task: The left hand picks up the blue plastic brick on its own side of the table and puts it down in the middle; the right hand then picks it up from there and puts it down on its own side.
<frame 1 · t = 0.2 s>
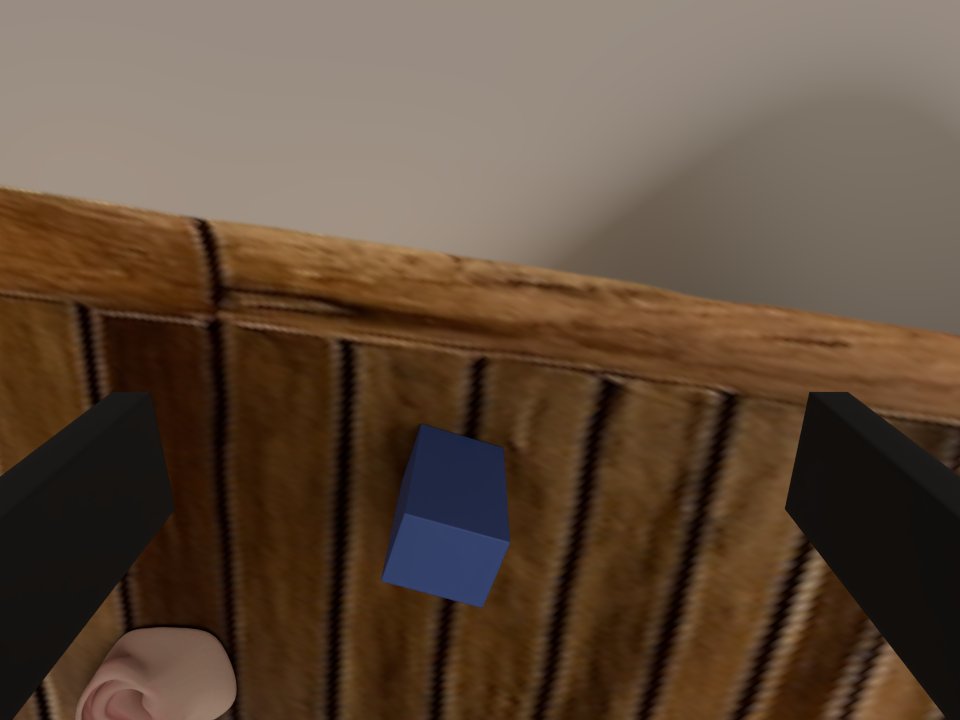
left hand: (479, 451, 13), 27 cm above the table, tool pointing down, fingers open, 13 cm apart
anatomical model: (165, 680, 52), on the table
brick: (452, 464, 44), on the table
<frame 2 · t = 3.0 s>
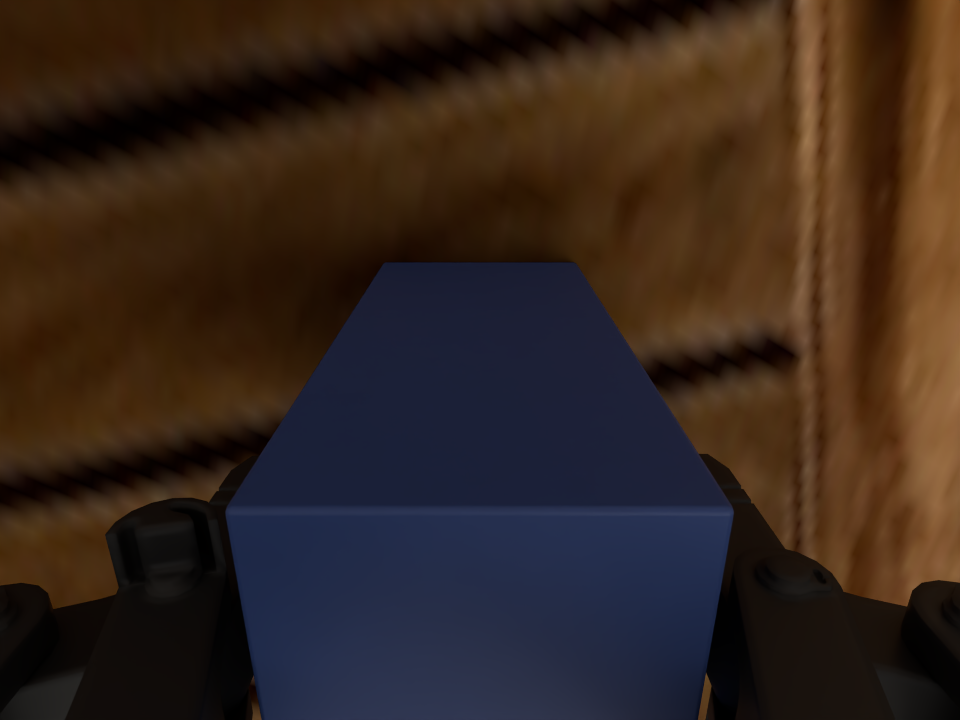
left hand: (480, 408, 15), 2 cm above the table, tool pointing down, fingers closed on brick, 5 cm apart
brick: (479, 373, 17), on the table, touching left hand
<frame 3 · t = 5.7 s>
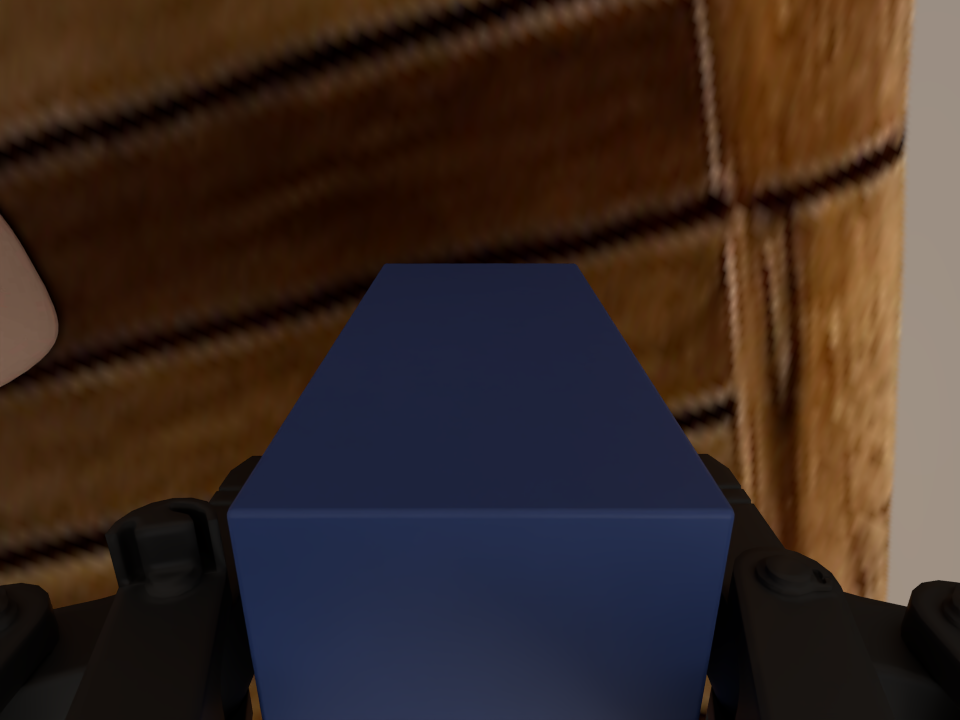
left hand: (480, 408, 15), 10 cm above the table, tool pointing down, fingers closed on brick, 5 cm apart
brick: (480, 374, 17), point 8 cm above the table, touching left hand
when the left hand's fingers open (3 cm above the table, at t = 8.7 s): brick drops 1 cm, on the table.
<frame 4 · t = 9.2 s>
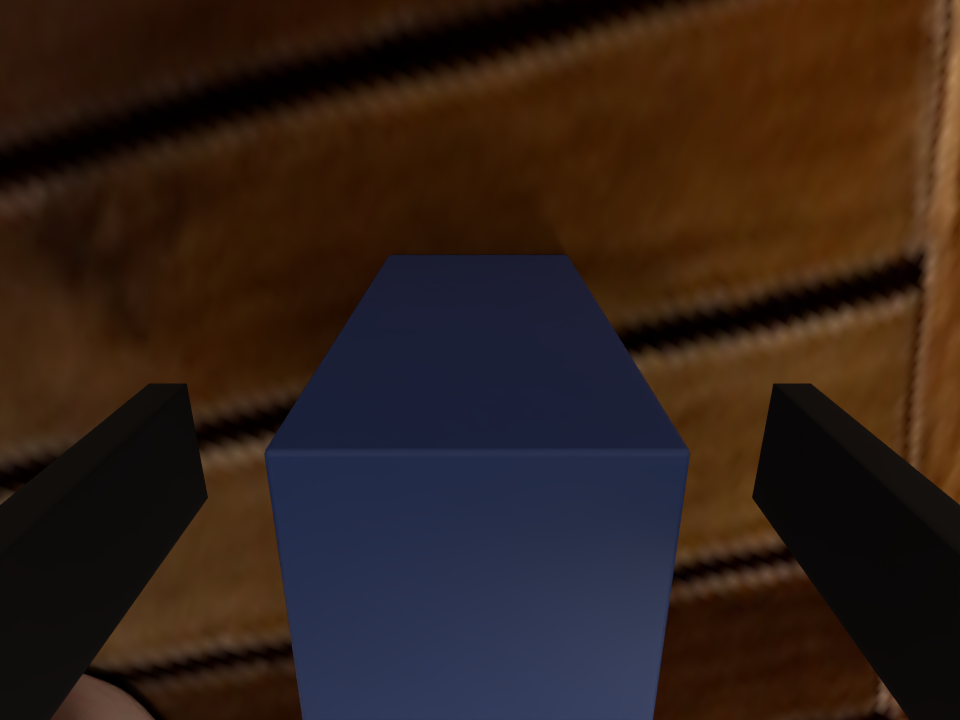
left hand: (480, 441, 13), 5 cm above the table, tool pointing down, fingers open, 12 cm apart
brick: (478, 359, 18), on the table
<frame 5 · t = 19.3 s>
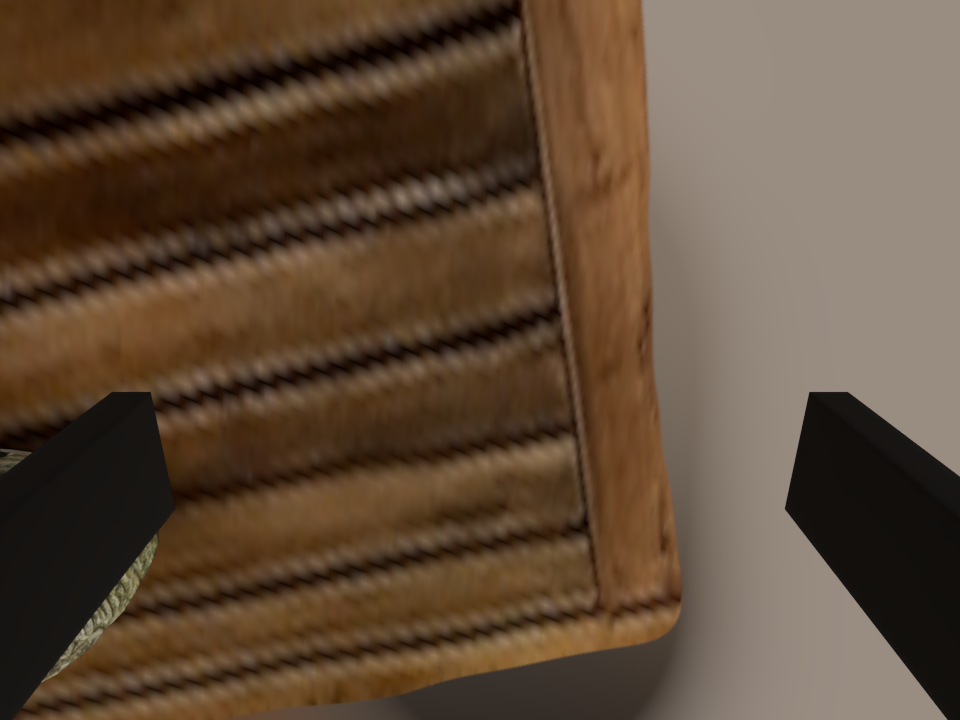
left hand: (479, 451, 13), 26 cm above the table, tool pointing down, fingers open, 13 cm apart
fossil: (57, 495, 44), on the table
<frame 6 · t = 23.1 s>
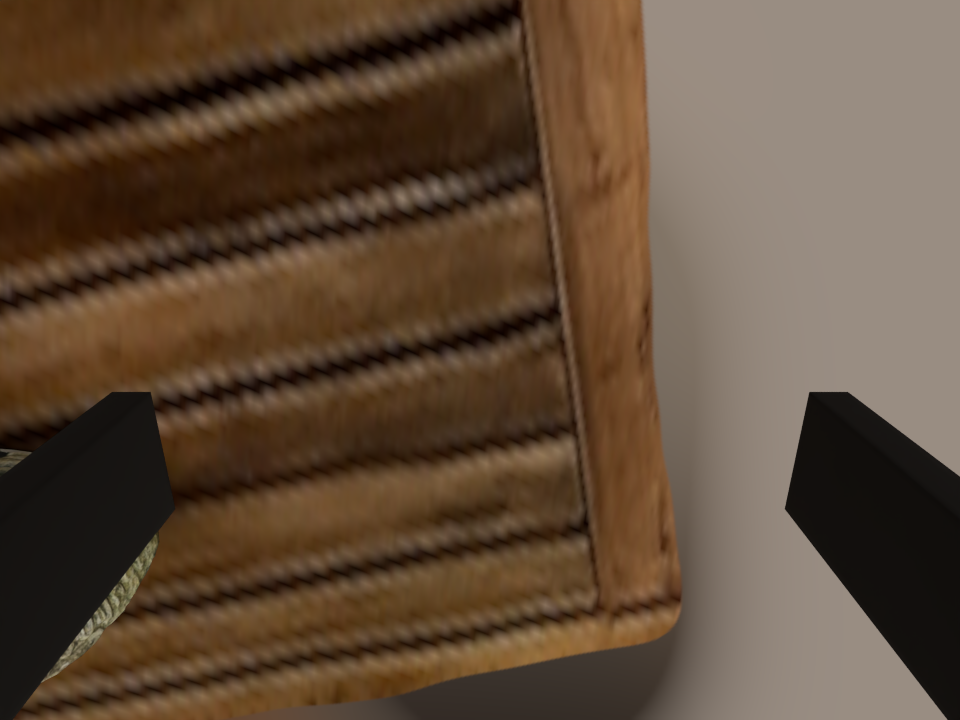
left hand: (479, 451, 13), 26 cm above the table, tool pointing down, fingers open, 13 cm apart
fossil: (57, 495, 44), on the table
when the right hand's fingers open (3 cm above the table, at t = 27.1 s): brick drops 1 cm, on the table.
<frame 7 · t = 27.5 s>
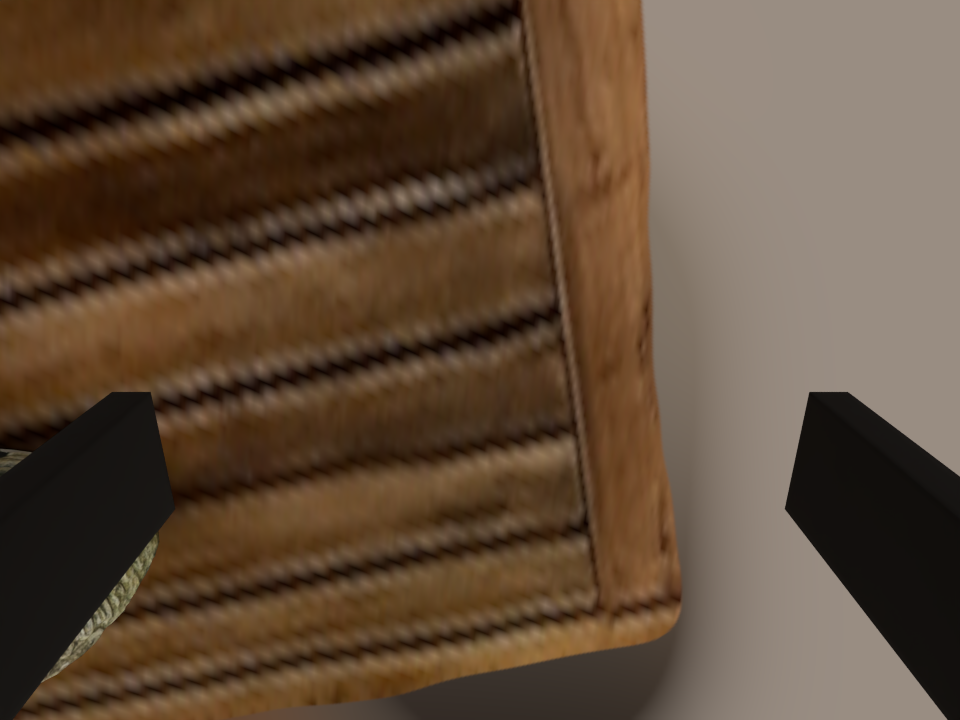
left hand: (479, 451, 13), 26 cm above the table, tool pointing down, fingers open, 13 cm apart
fossil: (57, 495, 44), on the table
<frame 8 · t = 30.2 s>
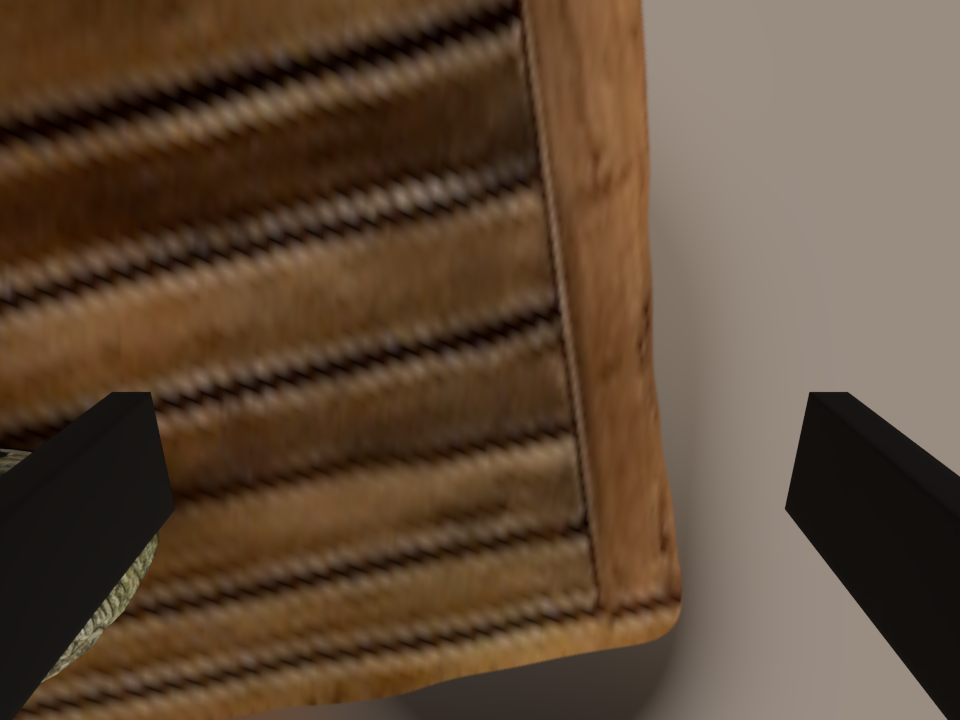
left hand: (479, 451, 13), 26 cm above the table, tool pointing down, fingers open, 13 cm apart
fossil: (57, 495, 44), on the table
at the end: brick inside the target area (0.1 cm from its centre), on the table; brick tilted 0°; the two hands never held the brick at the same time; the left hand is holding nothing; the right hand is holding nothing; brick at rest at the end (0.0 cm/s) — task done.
